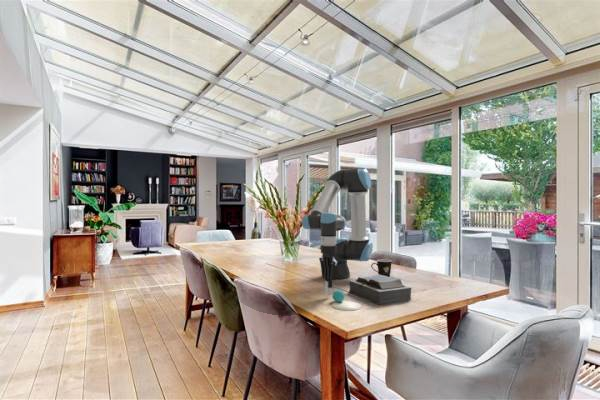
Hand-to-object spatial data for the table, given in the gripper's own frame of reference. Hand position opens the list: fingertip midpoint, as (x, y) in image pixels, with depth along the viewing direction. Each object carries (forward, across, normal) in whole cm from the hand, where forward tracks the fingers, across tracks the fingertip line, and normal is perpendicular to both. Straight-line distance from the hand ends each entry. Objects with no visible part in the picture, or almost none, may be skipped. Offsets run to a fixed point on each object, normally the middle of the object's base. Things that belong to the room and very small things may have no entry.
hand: (328, 294), depth 167 cm
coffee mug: (+2, -20, +53) cm, 57 cm away
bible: (+3, +9, +23) cm, 25 cm away
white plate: (+2, +14, 0) cm, 14 cm away
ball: (-1, +8, 0) cm, 8 cm away
